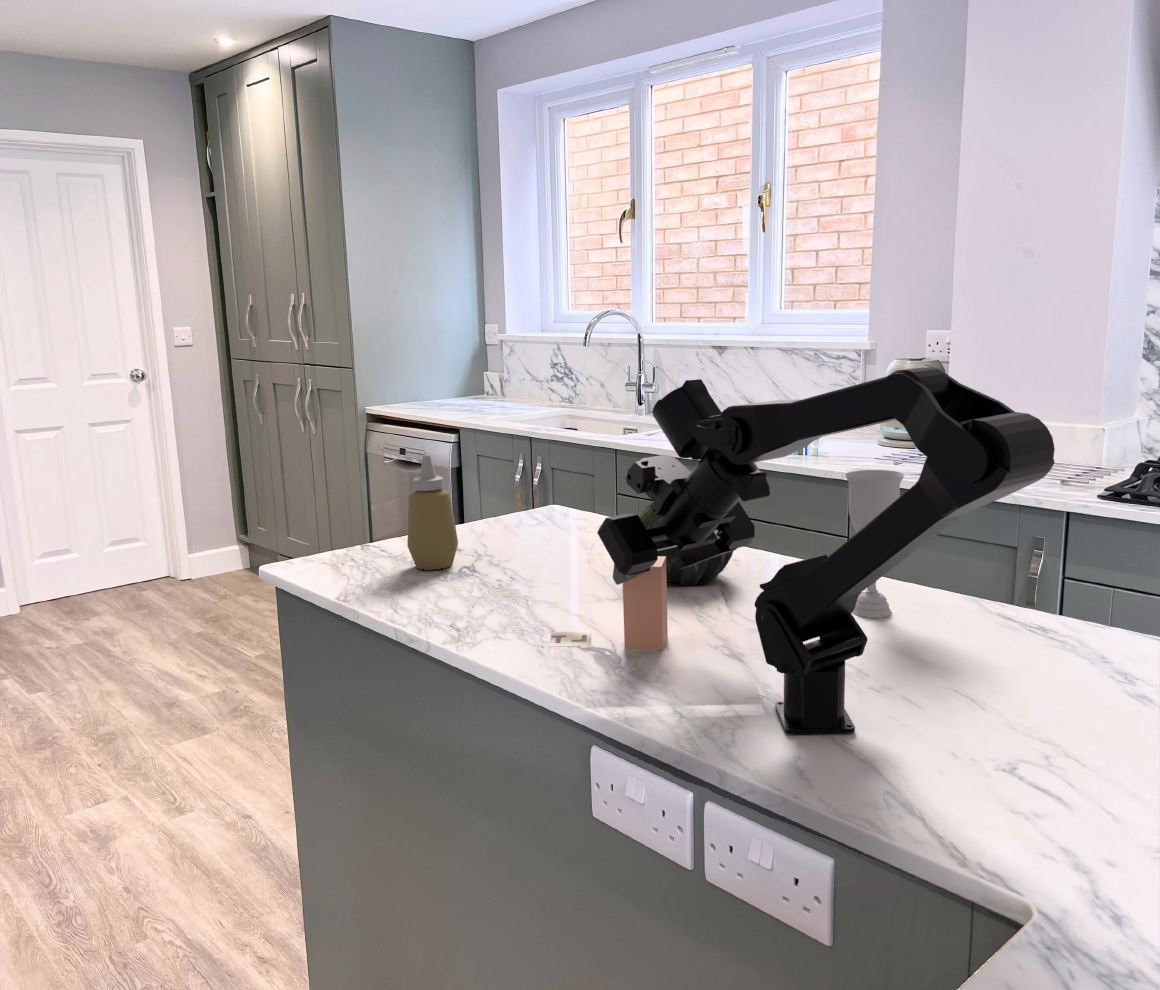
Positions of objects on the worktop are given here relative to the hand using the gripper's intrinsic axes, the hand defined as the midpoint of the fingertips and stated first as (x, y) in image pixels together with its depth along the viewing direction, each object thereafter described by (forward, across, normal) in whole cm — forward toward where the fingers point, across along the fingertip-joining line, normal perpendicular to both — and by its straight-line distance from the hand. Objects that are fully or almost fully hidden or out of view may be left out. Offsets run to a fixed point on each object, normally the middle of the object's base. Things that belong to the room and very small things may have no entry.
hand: (647, 573), depth 111 cm
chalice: (+1, -30, +12) cm, 33 cm away
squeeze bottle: (+43, +2, -30) cm, 53 cm away
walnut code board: (+9, +3, +4) cm, 11 cm away
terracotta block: (+6, 0, +6) cm, 9 cm away
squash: (+20, -22, -7) cm, 31 cm away
